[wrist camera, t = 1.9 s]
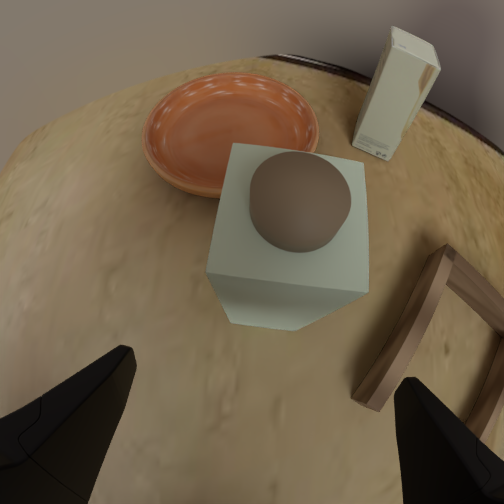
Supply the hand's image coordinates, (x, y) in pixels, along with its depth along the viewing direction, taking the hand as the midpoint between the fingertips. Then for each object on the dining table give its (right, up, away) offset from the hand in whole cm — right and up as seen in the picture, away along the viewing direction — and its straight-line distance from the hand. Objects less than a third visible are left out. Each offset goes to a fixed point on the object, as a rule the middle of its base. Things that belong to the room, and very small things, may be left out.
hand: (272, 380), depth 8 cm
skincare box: (+12, +16, +19) cm, 28 cm away
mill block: (0, +1, +13) cm, 13 cm away
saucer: (-3, +15, +18) cm, 23 cm away
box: (+16, -6, +10) cm, 20 cm away
